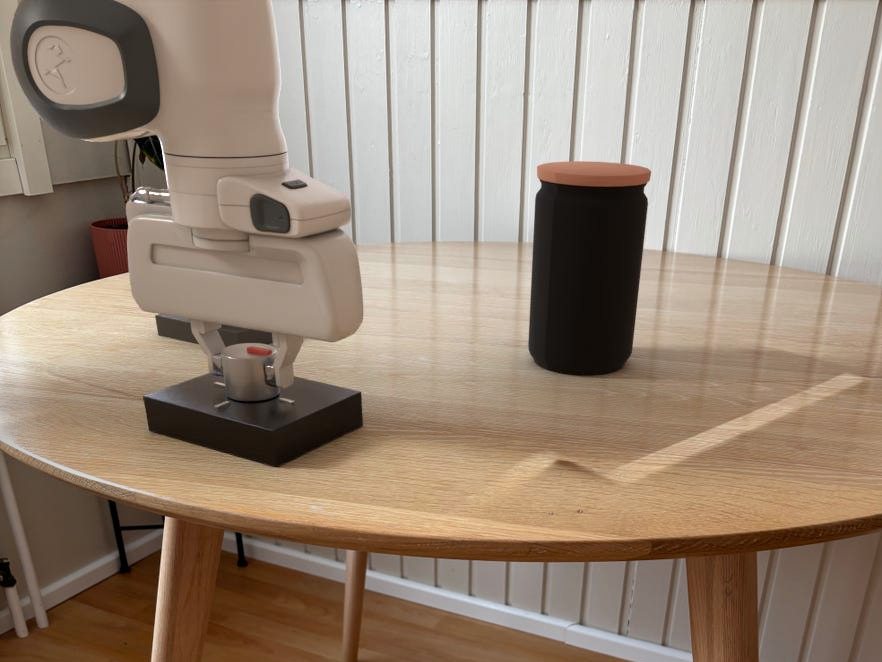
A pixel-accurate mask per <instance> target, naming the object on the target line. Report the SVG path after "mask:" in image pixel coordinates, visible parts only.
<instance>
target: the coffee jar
mask: <svg viewBox="0 0 882 662" xmlns="http://www.w3.org/2000/svg"><path fill="white" fill-rule="evenodd" d="M536 176H537V179H538V180H539V182H540V188H539V190H538V191H537V192H536V193H535V198H534V216H533V218H534V219H533V235H532V236H533V239H532V241H533V242H532V258H531V259H532V260H531V279H530V280H531V281H530V301H529V303H530V304H529V321H528V322H529V323H528V340H527V341H528V343H527V346H528V352H529V355H530V356H531V357H532V359H533V362H534V363H535V364H536V365H537V366H539V367H540V368H543V369H545V370H548V371H551V372H555V373H560V374H566V375H575V376H576V375H577V376H592V375H593V376H595V375H605V374H609V372H610V373H614V372H616V371H618V370H620V368H621V369H622V368H623V367H624V366H625V364H626V362H627V361H628V360H629V359H630V357H631V355H632V353H633V346H634V338H635V328H636V319H637V310H638V302H639V301H638V299H639V291H640V282H641V274H642V273H641V272H642V263H643V253H644V245H645V244H644V243H645V236H646V225H647V217H648V207H649V200H648V197H647V195H646V194H645V187H646V186H647V185H648V183H649V182H650V181H651V177H652V171H651V170H650V168H648V167H644V166H641V165H635V164H630V163H619V162H609V161H583V160H582V161H581V160H579V161H577V160H576V161H575V160H573V161H555V162H553V161H551V162H546V163H542V164H539V165H537V166H536ZM613 371H614V372H613Z"/></svg>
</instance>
